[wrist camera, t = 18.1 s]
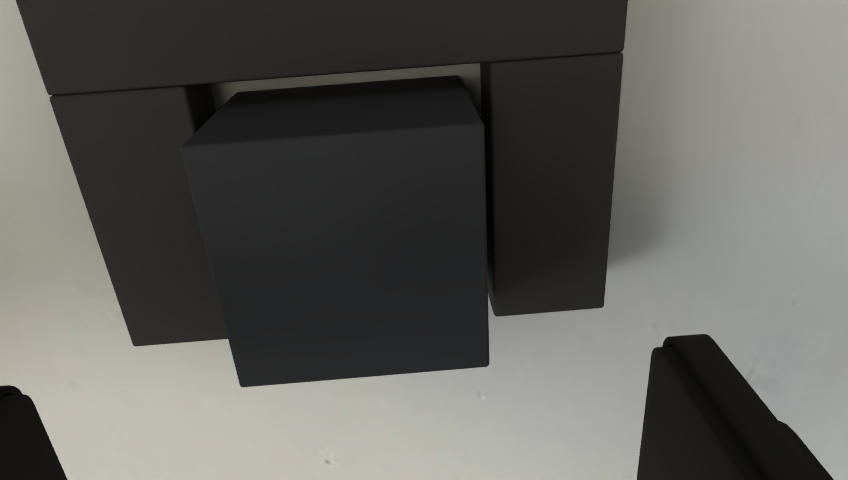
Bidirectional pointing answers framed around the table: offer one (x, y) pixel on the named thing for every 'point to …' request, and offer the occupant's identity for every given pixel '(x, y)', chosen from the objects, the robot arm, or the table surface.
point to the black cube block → (346, 229)
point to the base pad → (320, 55)
